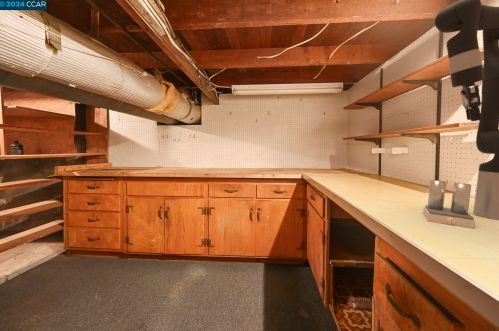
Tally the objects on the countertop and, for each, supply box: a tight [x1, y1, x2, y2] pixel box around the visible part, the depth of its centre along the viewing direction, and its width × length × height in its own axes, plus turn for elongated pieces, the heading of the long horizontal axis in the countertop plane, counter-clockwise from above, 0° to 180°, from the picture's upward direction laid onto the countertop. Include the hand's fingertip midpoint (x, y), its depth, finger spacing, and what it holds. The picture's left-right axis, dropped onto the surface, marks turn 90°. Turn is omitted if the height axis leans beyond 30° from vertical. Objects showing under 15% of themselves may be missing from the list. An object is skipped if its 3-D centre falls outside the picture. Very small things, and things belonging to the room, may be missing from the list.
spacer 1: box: [427, 179, 447, 210], centre depth 85 cm, size 4×4×10 cm
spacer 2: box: [450, 182, 472, 215], centre depth 80 cm, size 4×4×10 cm
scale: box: [422, 204, 477, 229], centre depth 83 cm, size 12×12×3 cm
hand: (473, 120), depth 75 cm, fingers open, 8 cm apart
